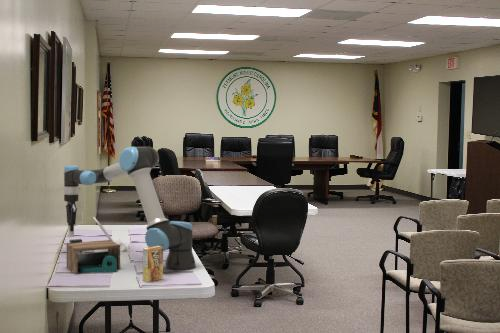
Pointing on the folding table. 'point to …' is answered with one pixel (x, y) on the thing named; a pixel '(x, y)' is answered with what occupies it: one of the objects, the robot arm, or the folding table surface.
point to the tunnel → (86, 246)
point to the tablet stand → (122, 247)
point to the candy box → (152, 263)
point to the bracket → (101, 266)
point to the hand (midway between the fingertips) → (71, 236)
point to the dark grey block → (89, 256)
